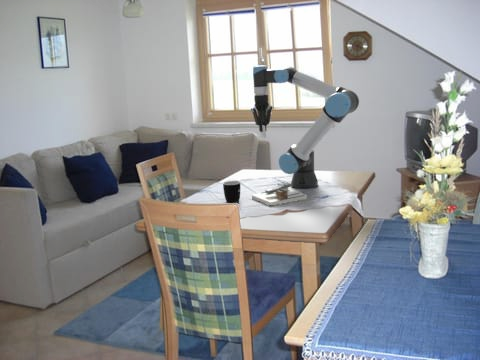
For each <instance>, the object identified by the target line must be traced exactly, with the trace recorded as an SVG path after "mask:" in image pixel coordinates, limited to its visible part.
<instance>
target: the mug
mask: <svg viewBox="0 0 480 360" xmlns="http://www.w3.org/2000/svg"><path fill="white" fill-rule="evenodd" d="M222 185H223V187H222V188H223V189H222V190H223V195H224V199H225V201H226V203H228V204H234V203H233V202H237V203H239V202H240V198H241V181H238V180H228V181H225V182H223V183H222Z"/></svg>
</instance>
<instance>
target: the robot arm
mask: <svg viewBox="0 0 480 360" xmlns="http://www.w3.org/2000/svg"><path fill="white" fill-rule="evenodd" d="M267 67H268V66H267V65H266V64H264V65H262V64H261V65H254V66H253V67H252V75H253V91H254V92H253V93H254V96H253V97H254V98H253V100H254V107H252V108H250V111H251V112H252V115H253V120H254V123H255V125H256V126H258V128H259V129H258V131H259V133H260V138H263V139H264V138H267V134H266V133H267V126H268V125H269V124H270V120H271V116H272V111H273V109H274V108H273V107H274V106H272V105H270V103H269V95H268V94H269V88H268V87H269V85H268V84H286V83H289V84H291V85H293V86H296V87H299V88H301V89H303V90H306V91H308V92H310V93H312V94H315V95H317V96H319V97H322V98H324V99H326V101H325V103H324V106H323V107H322V113H321V114H320V116H319V117H318V118H317V119H316V120H315V122H314V123H313V124H312V125H311V126H310V127H309V128H308V130H307V131H306V132H305V134H303V136H302V137H301V138H300V140H299V141H298V142H297V144H292V145H291V146H290V147H289V148H288V149H287V151H286V152H284V153H283V154H281V155H280V156H279V158H278V166H279V169H280V170H281V171H282V172H283V173H285V174H287V175H292V178H291V180H290V184H291V188H293V189H301V190H302V189H314V188H317V187H318V185H319V184H318V183H319V181H318V178H317V176H316V173H315V151H314V149H315V148H316V147H317V146H318V145H319V143H321V141H322V140H323V139H324V138H325V137H326V135H327V134H328V133H329V132H330V130H331V129H332V128H333V127H334V126H335V125H336V124H340V123H341V122H342V121H344V119H345V118H346V116H347V115H349V114H351V113H353V112H355V111H356V110H357V109H358V107H359V106H360V105H359V104H360V99H359V96H358V95H357V93H356V92H355V91H353V90H350V89H347V88H345V87H343V86H339V87H337V86H335V85H332V84H330V83H328V82H325V81H324V80H320V79H317V78H316V77H314V76H311V75H308V74H306V73H304V72H301V71H299V70H297V69H296V68H295V67H292V66H286V67H279V68H267Z"/></svg>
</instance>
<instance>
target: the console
mask: <svg viewBox="0 0 480 360" xmlns="http://www.w3.org/2000/svg"><path fill="white" fill-rule="evenodd" d="M286 191H287V194H288V198H286V199H281V200H280V199H278V198H277V192H274V193H271V194H267V193H265V191H261V192H260V193H254V194H252V195H251V199H252V200H254V201H256V202H259V201H260V203H262V202H263V203H262V204H264V203H265V204H264V205H266V204H268V205H267V206H269V205H275V206H277V205H276V204H279V205H282V203H284V204H288V203H287V202H289V203H293V201H294V202H297V201H298V200H299V201H303V200H307V199H308V194H305V193H302V192H299V191H296V190H294V189H290V188H288V190H286ZM299 201H298V202H299Z"/></svg>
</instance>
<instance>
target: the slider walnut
mask: <svg viewBox="0 0 480 360" xmlns="http://www.w3.org/2000/svg"><path fill="white" fill-rule="evenodd" d="M277 198H278V199H280V200H281V199H286V198H288V194H287V191H286V190H284V189H280V190H277Z"/></svg>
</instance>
